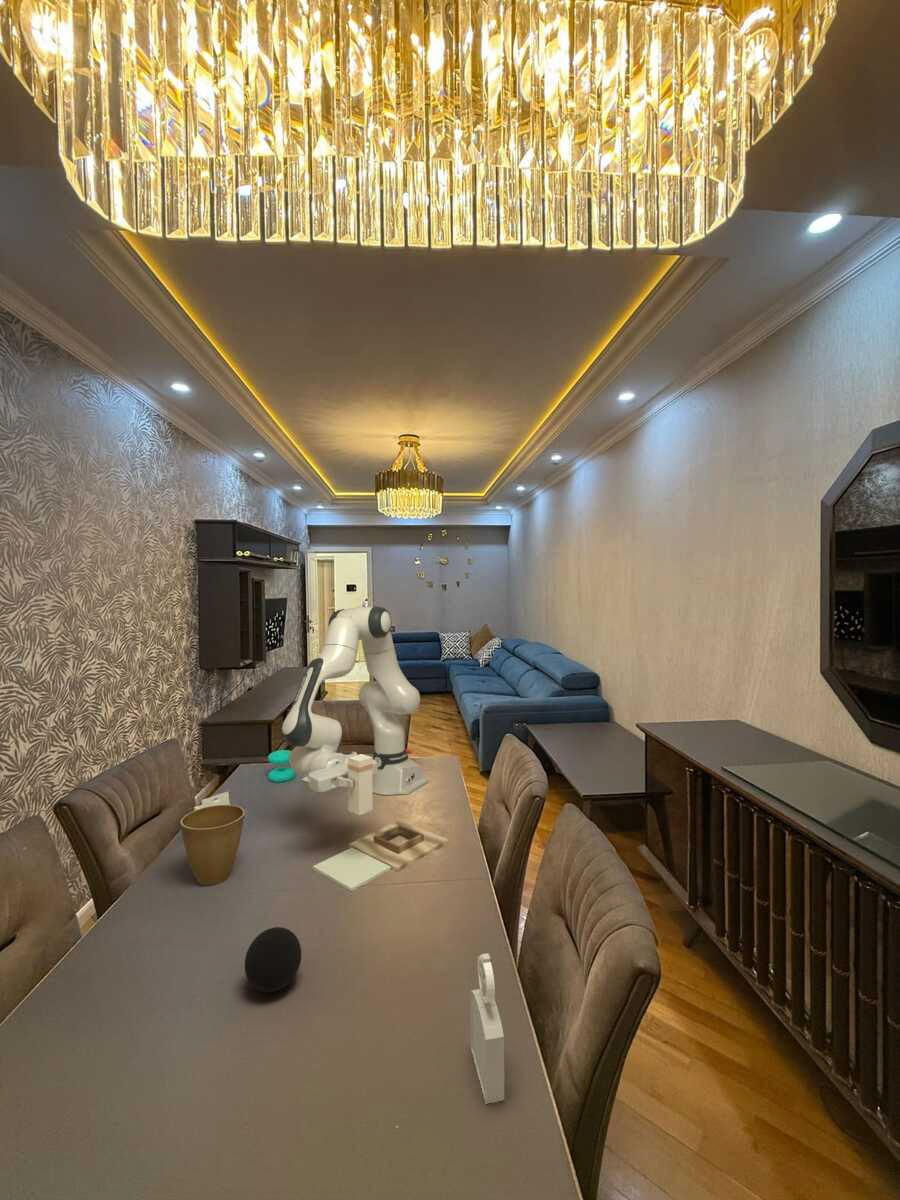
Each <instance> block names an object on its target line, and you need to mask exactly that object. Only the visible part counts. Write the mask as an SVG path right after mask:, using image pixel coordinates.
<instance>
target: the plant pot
mask: <svg viewBox="0 0 900 1200" xmlns="http://www.w3.org/2000/svg"><path fill="white" fill-rule="evenodd" d="M245 812H246V811H245V809H244V808H243V807H241V806H238V805H232V804H230V805H215V806H209V807H205V808H201V809H198V810H195V811H194V810H193V811H191V812H189V813H187V814H185V816H183V817H182V818H181V820H180V829H181V833H182V839H183V843H184V848H185V852H186V855H187V859H188V862H189V865H190V867H191V871H192V873H193V875H194V876H195V879H196V881H197V883H198V884H200V885H202V886H214V885H218V884H220V883H222V882H224V881H226V880H227V879H228V878H229V876H230V874H231V871H232V869H233V865H234V862H235V860H236V857H237V854H238V853H237V852H238V850H239V845H240V841H241V837H242V836H241V835H242V832H243V825H244V820H245Z"/></svg>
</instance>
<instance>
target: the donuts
mask: <svg viewBox="0 0 900 1200" xmlns="http://www.w3.org/2000/svg"><path fill="white" fill-rule="evenodd" d="M291 751H292V750H289V749H279V750H275V751H273V752H271V753H269V755H268V757H267V760H268V762H269V763H270V764H273V765H278V766H279V765H285V764H290V763H289V756H290V753H291ZM295 776H296V772H295V771H293V769H292V768H291V767H289V766H281V767H276V768H274V769H273V768H272V770H270V771H269V773H268V779H269V780H270V781H271V782H273V783H283V781H285V782H287V781H291V780H293V778H295ZM290 779H291V780H290Z"/></svg>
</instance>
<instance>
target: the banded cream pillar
mask: <svg viewBox="0 0 900 1200" xmlns="http://www.w3.org/2000/svg"><path fill="white" fill-rule="evenodd" d="M372 759H373V756H369V755H366V754H363V753H361V754H357V755H356V756H353V757H349V758H348V779H350V778H352V779H355V781H356V782H355V784H356V785H355V786H354V787H351V788H350V787H347V798H348V799H347V800H348V801H347V803H348V804H347V806H348V807H347V811H349V812H351V813H354V814H356V815H359V816H361V815H363V814H366V813H368V812H370V811H372V810H373V792H372V768H373V763H372Z"/></svg>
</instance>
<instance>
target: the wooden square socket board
mask: <svg viewBox="0 0 900 1200" xmlns="http://www.w3.org/2000/svg"><path fill="white" fill-rule="evenodd" d="M397 837H402V838H404V839H407V841H405V842H403V843H401V844H399V845H397V844H395V843H393V842H391V840H393V839H395V838H397ZM447 844H449V839H448V838H446V837H443V836H441V835H438V834H435V833H433V832H431V831H429V830H428V831H427V830H425V829H423V828H420V827H418V826H416V825H413V824H411V823H408V822H405V821H403V820H401V819H400V820H397V821H395V822H393V823H391V824H389V825H387V826H385V827H383V828H380V829H378V830H375V831H373V832H372V833H369V834H367V835H365V836H363V837H361V838H359V839H357V840H355V841H351V842H350V843H348V848H349V849H350V848H354V849H356V850H358V851H360V852H362V853H364V854H366V855H368V856H370V857H372V858H374V859H376V860H378V861H380V862H382V863H384V864H386V865H388V866H390V867H391V870H394V871H395V872H400V871H402V870H403V869H405V868H407V867H409V866H410V865H412V864H413V863H416V862H417V861H419V860H421V859H423V858H424V857H426V856H428V855H430V854H431V853H433V852H435V851H437V850H439V849H440V848H443V847H444V846H446V845H447Z"/></svg>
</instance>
